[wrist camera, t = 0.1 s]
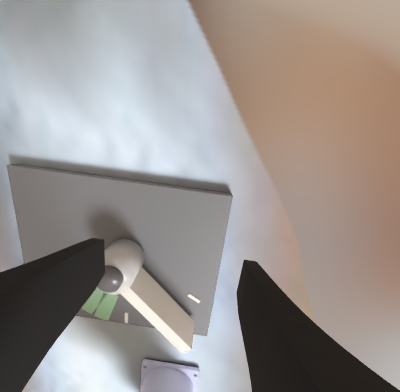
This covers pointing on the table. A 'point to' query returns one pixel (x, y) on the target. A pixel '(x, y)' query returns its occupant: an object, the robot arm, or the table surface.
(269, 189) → the table surface
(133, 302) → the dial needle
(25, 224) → the dial base
